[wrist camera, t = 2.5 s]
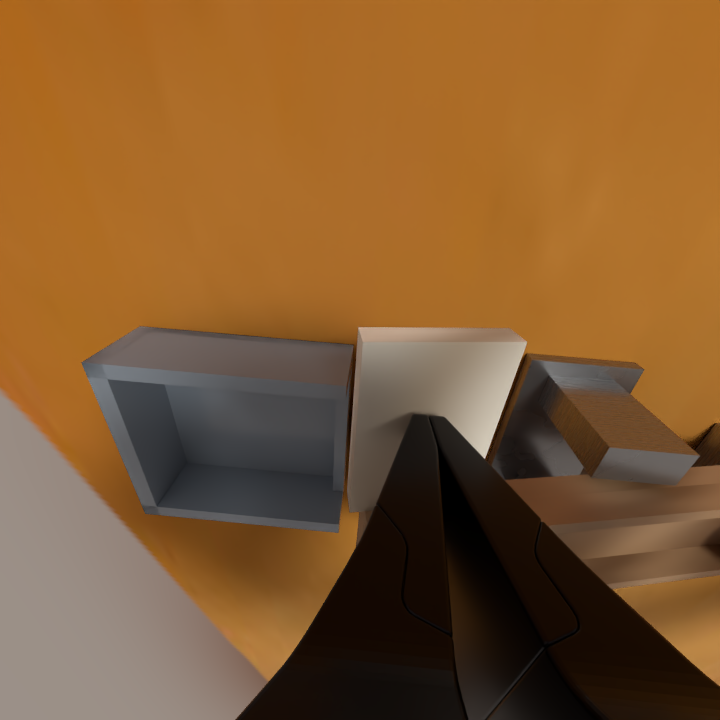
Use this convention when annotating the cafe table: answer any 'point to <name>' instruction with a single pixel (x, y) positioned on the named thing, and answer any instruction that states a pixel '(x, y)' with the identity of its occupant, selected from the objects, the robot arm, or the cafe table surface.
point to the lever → (544, 495)
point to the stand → (590, 426)
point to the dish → (229, 424)
